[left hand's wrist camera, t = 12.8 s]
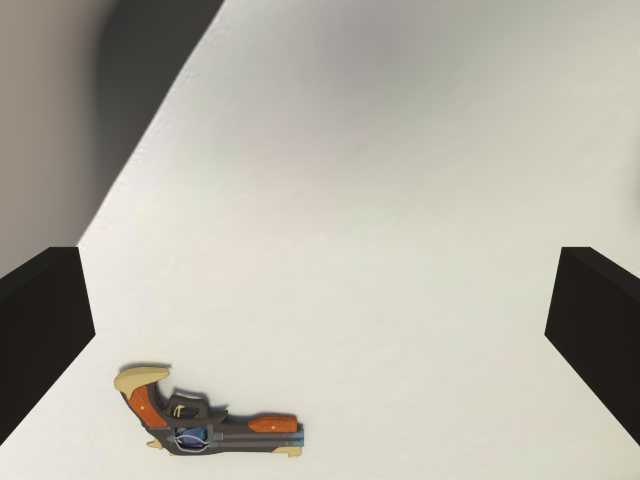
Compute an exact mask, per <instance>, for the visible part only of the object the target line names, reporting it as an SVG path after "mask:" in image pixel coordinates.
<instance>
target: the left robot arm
mask: <svg viewBox="0 0 640 480" xmlns="http://www.w3.org/2000/svg"><path fill="white" fill-rule="evenodd" d="M95 335H96V334H95V329H94V324H93V319H92V314H91V309H90V304H89V299H88V294H87V289H86V284H85V279H84V274H83V269H82V264H81V259H80V254H79V249H78V247H49V248H48V249H46V250H44V251H43V252H41V253H40V254H38V255H37V256H35V257H34V258H32V259H30V260H29V261H27V262H26V263H24V264H23V265H21V266H20V267H18V268H16V269H15V270H13V271H12V272H10V273H9V274H7V275H6V276H4V277H2V278H1V279H0V446H1V445H2V444H3V442H4V441H5V440H6V439H7V438H8V437H9V435H10V434H11V433H12V432H13V431H14V430H15V428H16V427H17V426H18V425H19V424H20V423H21V421H22V420H23V419H24V418H25V417H26V416H27V414H28V413H29V412H30V411H31V410H32V409H33V407H34V406H35V405H36V404H37V403H38V402H39V400H40V399H41V398H42V397H43V396H44V395H45V393H46V392H47V391H48V390H49V389H50V388H51V386H52V385H53V384H54V383H55V382H56V381H57V379H58V378H59V377H60V376H61V375H62V374H63V372H64V371H65V370H66V369H67V368H68V367H69V365H70V364H71V363H72V362H73V361H74V360H75V358H76V357H77V356H78V355H79V354H80V353H81V351H82V350H83V349H84V348H85V347H86V346H87V344H88V343H89V342H90V341H91V340H92V339H93V337H94V336H95ZM544 335H545V336H546V337H547V339H548V340H549V341H550V342H551V343H552V344H553V346H554V347H555V348H556V349H557V350H558V351H559V353H560V354H561V355H562V356H563V357H564V358H565V360H566V361H567V362H568V363H569V364H570V365H571V367H572V368H573V369H574V370H575V371H576V372H577V374H578V375H579V376H580V377H581V378H582V379H583V381H584V382H585V383H586V384H587V385H588V386H589V388H590V389H591V390H592V391H593V392H594V393H595V395H596V396H597V397H598V398H599V399H600V400H601V402H602V403H603V404H604V405H605V406H606V407H607V409H608V410H609V411H610V412H611V413H612V414H613V416H614V417H615V418H616V419H617V420H618V421H619V423H620V424H621V425H622V426H623V427H624V428H625V430H626V431H627V432H628V433H629V434H630V435H631V437H632V438H633V439H634V440H635V441H636V442H637V444H638V445H639V446H640V279H639V278H638V277H636V276H634V275H633V274H631V273H630V272H628V271H627V270H625V269H624V268H622V267H620V266H619V265H617V264H616V263H614V262H613V261H611V260H610V259H608V258H606V257H605V256H603V255H602V254H600V253H599V252H597V251H596V250H594V249H593V248H591V247H562V249H561V254H560V259H559V264H558V269H557V274H556V279H555V284H554V289H553V294H552V299H551V304H550V309H549V314H548V319H547V324H546V329H545V334H544Z"/></svg>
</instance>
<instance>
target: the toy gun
mask: <svg viewBox="0 0 640 480" xmlns="http://www.w3.org/2000/svg"><path fill="white" fill-rule="evenodd" d="M169 374H170V372H169V370H167V369H165V368H156V367H137V368H131V369H127V370H125V371H123V372H121V373H120V374H119V375H118V376H117V377H116V378H115V380H114V386H115V388H116V389H117V390H119V391H120V393H121V395H122V397H123V398H124V400H125V402H126V403H127V405H128V406H129V408H130V409H131V410H132V411H133V412H134V414H135V415H136V416H137V417H138V418H139V419H140V421H141V424H142V426H143V427H145V429H146V431H147V432H148V433H150V434H151V435H152V436H154V437H155V441H151V442H147V444H146V445H147V446H149V447H154V448H158V449H160V450H162V448H165V449H167V450H168V451H169V452H170V456H172V455H181V456H188V455H210V454H217V453H222V452H271V453H288V458H289V457H295V456H300V455H301V454H302V447H301V446H304V430H303V429H301V427H297V419H296V418H294V417H260V418H257V419H254V420H252V421H249V422H247V423H235V422H227V421H223V420H224V419H225V418H226V417H227V413H228V410H224V411H221V412H217V413H209V412H208V404H207V402H206V401H205V400H204V399H192V398H186V397H182V396H179V395H175V394H173V395H172V396H171V398H170V403H169V406H167V407H165V406H163V404H162V403H161V401H160V400H159V398H158V396H157V394H156V390H155V389H156V382H157V381H158V380H161V379H163V378H165V377H167V376H168V375H169ZM174 404H179V405H178V406H177V407H176V409H175V411H174V412H173V411H172V406H173V405H174ZM185 406H188V407H197V408H198V409H199V411H198V412H197V413H196V414H180V409H181V408H184V407H185ZM177 409H178V413H176V410H177ZM206 426H208V429H207V427H206ZM184 427H189V428H188V429H186V430H185V431H183V432H182V433H180V434H179V432H178V431H179V430H180V429H181V428H184ZM177 428H179V429H178V430H177ZM177 434H178V435H177ZM177 439H179V440H180V441H181V442H182V443H180V442H178V441H177ZM207 439H208V441H206V440H207ZM207 442H209V443H207ZM204 443H207V444H204Z"/></svg>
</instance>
